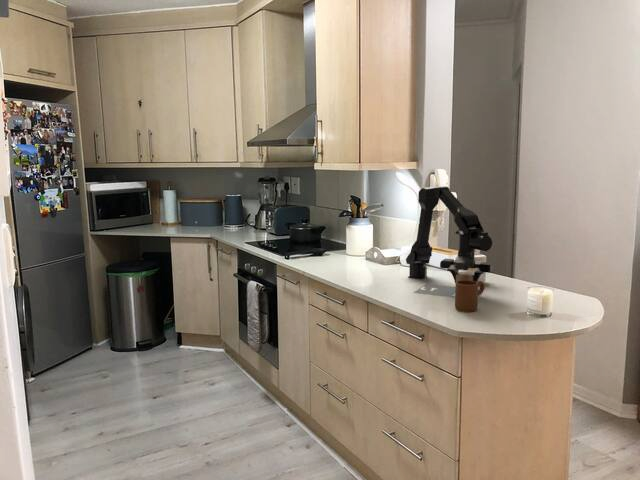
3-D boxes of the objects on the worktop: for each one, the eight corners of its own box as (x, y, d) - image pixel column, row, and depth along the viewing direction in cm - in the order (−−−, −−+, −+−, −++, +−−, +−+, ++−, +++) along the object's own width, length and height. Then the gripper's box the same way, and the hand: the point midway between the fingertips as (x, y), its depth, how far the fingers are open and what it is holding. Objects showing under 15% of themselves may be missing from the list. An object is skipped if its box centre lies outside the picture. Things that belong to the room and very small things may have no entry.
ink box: (467, 285, 212) (468, 249, 210) (460, 282, 217) (461, 247, 215) (486, 283, 215) (487, 248, 212) (479, 281, 219) (480, 246, 217)
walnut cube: (455, 290, 198) (455, 274, 197) (459, 286, 203) (460, 271, 203) (471, 292, 195) (472, 276, 194) (475, 288, 201) (476, 273, 200)
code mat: (413, 293, 202) (413, 292, 202) (426, 284, 215) (426, 283, 215) (470, 300, 191) (470, 299, 191) (481, 290, 205) (481, 289, 205)
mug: (475, 303, 187) (475, 277, 186) (491, 308, 181) (492, 281, 179) (450, 308, 181) (450, 281, 180) (466, 313, 175) (466, 286, 173)
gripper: (435, 248, 195) (435, 289, 197) (487, 252, 185) (485, 295, 188) (444, 244, 204) (443, 283, 207) (494, 247, 195) (492, 288, 197)
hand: (465, 287), depth 199 cm, fingers closed on walnut cube, 6 cm apart
